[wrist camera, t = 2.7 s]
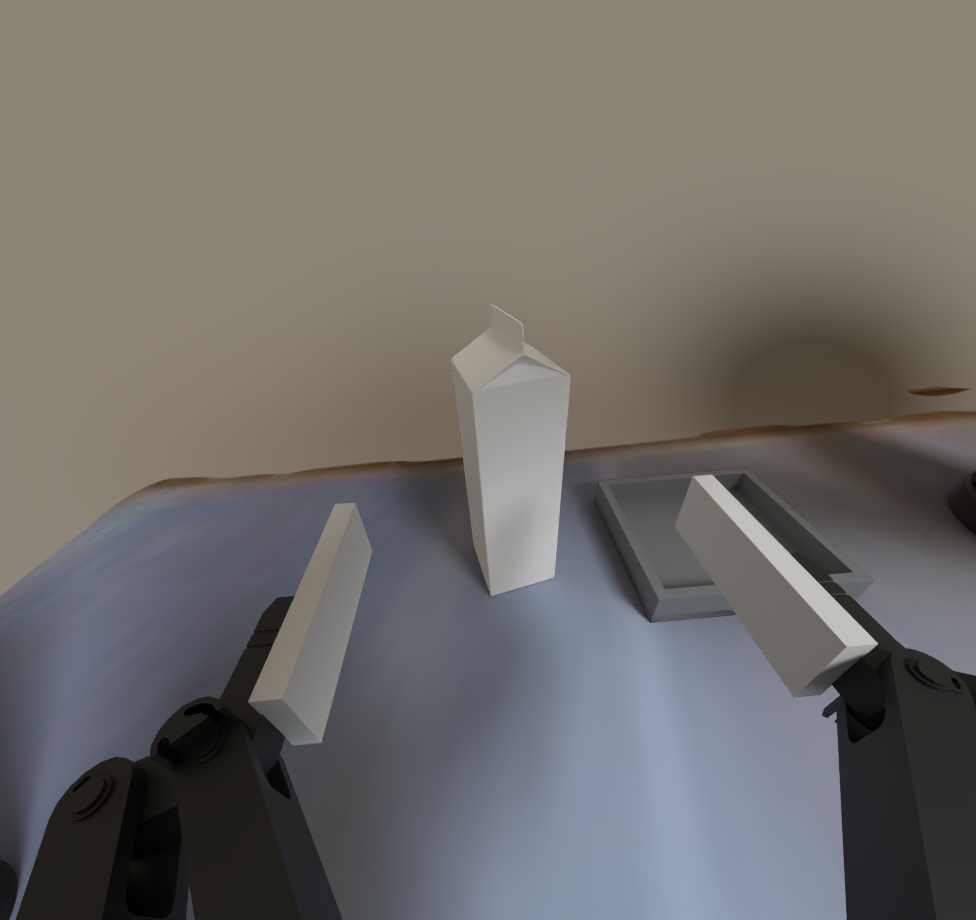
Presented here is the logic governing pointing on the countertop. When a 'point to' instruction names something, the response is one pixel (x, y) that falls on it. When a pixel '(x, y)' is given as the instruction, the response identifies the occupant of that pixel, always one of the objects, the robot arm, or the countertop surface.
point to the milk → (511, 452)
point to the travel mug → (6, 890)
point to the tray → (671, 563)
